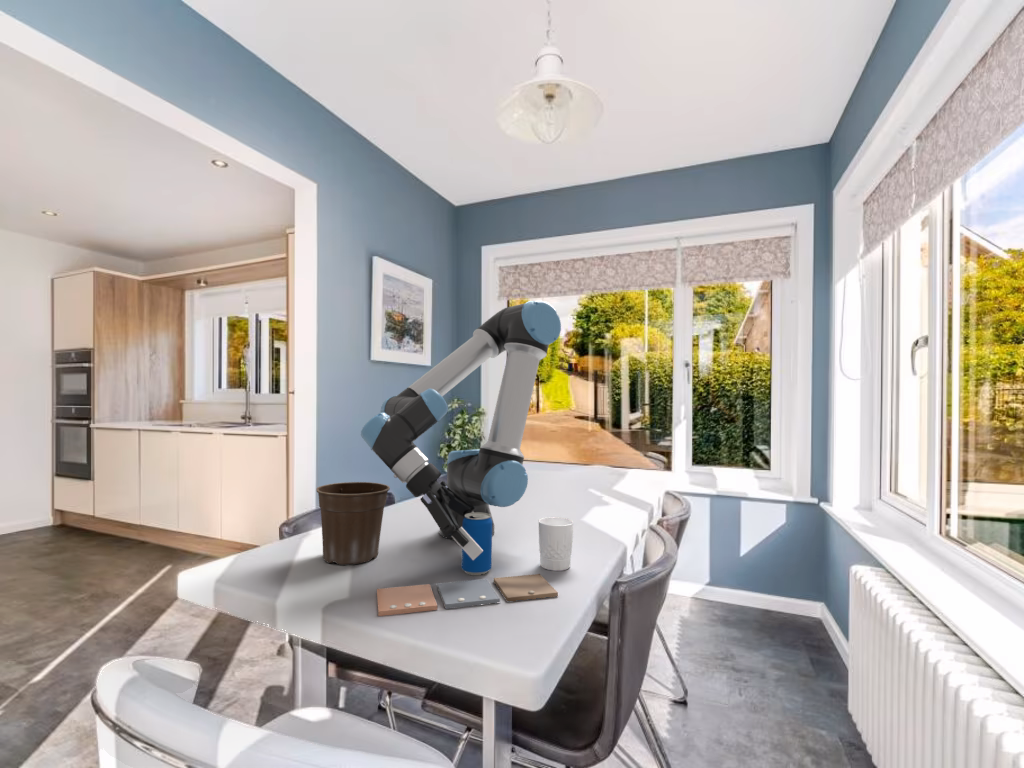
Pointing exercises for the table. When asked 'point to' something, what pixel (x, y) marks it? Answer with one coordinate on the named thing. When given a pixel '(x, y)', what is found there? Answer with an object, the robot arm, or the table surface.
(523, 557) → the table surface
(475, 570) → the beverage can
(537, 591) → the one-dot tile
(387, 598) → the three-dot tile
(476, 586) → the two-dot tile
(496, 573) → the table surface
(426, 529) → the table surface
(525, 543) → the table surface
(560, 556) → the white cup
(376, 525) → the plant pot
